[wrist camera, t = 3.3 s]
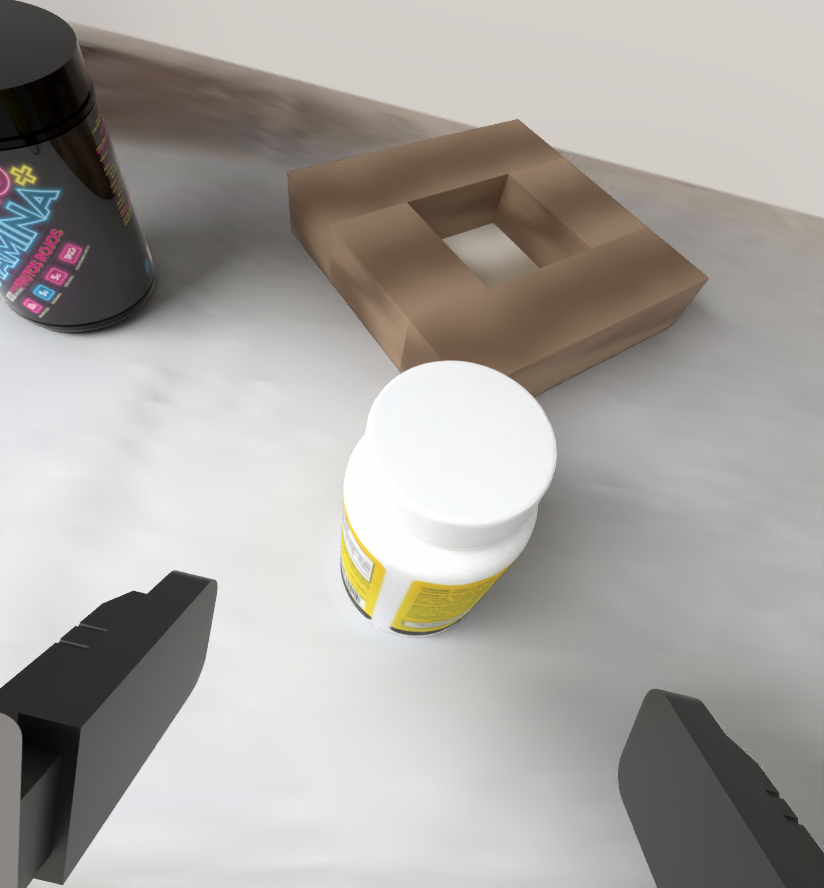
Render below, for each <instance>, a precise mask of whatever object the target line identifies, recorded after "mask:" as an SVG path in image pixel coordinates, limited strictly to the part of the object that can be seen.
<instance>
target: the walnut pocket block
mask: <svg viewBox="0 0 824 888" xmlns="http://www.w3.org/2000/svg"><path fill="white" fill-rule="evenodd" d="M287 176H288V191H289V206H290V220H291V231H292V232H293V234H294V235H295V236H296V237H297V239H298V240H299V241H300V243H301V244H302V245H303V247H304V248H305V249H306V250H307V252H308V253H309V254H310V256H311V257H312V258H313V259H314V261H315V262H316V263H317V265H318V266H319V267H320V268H321V270H322V271H323V272H324V274H325V275H326V276H327V278H328V279H329V280H330V281H331V283H332V284H333V285H334V287H335V288H336V289H337V290H338V292H339V293H340V294H341V296H342V297H343V298H344V300H345V301H346V302H347V303H348V305H349V306H350V307H351V309H352V310H353V311H354V312H355V314H356V315H357V316H358V318H359V319H360V320H361V321H362V323H363V324H364V325H365V327H366V328H367V329H368V331H369V332H370V333H371V334H372V336H373V337H374V338H375V340H376V341H377V342H378V343H379V345H380V346H381V347H382V349H383V350H384V351H385V352H386V354H387V355H388V356H389V358H390V359H391V360H392V362H393V363H394V364H395V365H396V367H397V368H398V369H399V371H400V372H401V373H403V372H405V371H407V370H409V369H411V368H413V367H415V366H419V365H422V364H425V363H431V362H437V361H465V362H471V363H475V364H479V365H483V366H486V367H489V368H491V369H494V370H496V371H498V372H500V373H502V374H504V375H506V376H508V377H509V378H511V379H513V380H514V381H516V382H517V383H518V384H520V385H521V386H522V387H523V388H525V389H526V390H527V391H528V392H529V393H530V394H531V395H532V396H533V397H534V396H536V395H538V394H540V393H542V392H544V391H546V390H548V389H550V388H552V387H554V386H556V385H557V384H559V383H561V382H563V381H565V380H567V379H569V378H571V377H573V376H575V375H577V374H579V373H581V372H583V371H585V370H587V369H589V368H590V367H592V366H594V365H596V364H598V363H600V362H602V361H604V360H606V359H608V358H610V357H612V356H614V355H616V354H618V353H620V352H621V351H623V350H625V349H627V348H629V347H631V346H633V345H635V344H637V343H639V342H641V341H643V340H645V339H647V338H649V337H651V336H652V335H654V334H656V333H658V332H660V331H662V330H664V329H666V328H668V327H670V326H672V324H673V323H674V322H675V321H676V319H677V318H678V317H679V316H680V314H681V313H682V312H683V311H684V309H685V308H686V307H687V305H688V304H689V303H690V302H691V300H692V299H693V298H694V297H695V295H696V294H697V293H698V292H699V290H700V289H701V288H702V287H703V285H704V284H705V283H706V281H707V280H708V279H709V278H708V277H707V276H706V275H705V274H703V273H702V272H701V271H700V270H699V269H697V268H696V267H695V266H694V265H693V264H691V263H690V262H689V261H688V260H687V259H685V258H684V257H683V256H682V255H681V254H679V253H678V252H677V251H676V250H675V249H673V248H672V247H671V246H670V245H669V244H667V243H666V242H665V241H664V240H663V239H661V238H660V237H659V236H658V235H657V234H655V233H654V232H653V231H652V230H651V229H649V228H648V227H647V226H646V225H645V224H643V223H642V222H641V221H640V220H639V219H637V218H636V217H635V216H634V215H633V214H631V213H630V212H629V211H628V210H627V209H625V208H624V207H623V206H622V205H621V204H619V203H618V202H617V201H616V200H615V199H613V198H612V197H611V196H610V195H609V194H607V193H606V192H605V191H604V190H603V189H601V188H600V187H599V186H598V185H597V184H595V183H594V182H593V181H592V180H591V179H589V178H588V177H587V176H586V175H585V174H583V173H582V172H581V171H580V170H579V169H577V168H576V167H575V166H574V165H572V164H571V163H570V162H569V161H568V160H566V159H565V158H564V157H563V156H562V155H560V154H559V153H558V152H557V151H556V150H554V149H553V148H552V147H551V146H550V145H548V144H547V143H546V142H545V141H544V140H542V139H541V138H540V137H539V136H538V135H536V134H535V133H534V132H533V131H532V130H530V129H529V128H528V127H527V126H526V125H524V124H523V123H522V122H521V121H520V120H518V119H516V120H512V121H507V122H504V123H499V124H495V125H490V126H486V127H481V128H477V129H473V130H468V131H464V132H460V133H455V134H451V135H447V136H442V137H438V138H434V139H429V140H425V141H421V142H416V143H412V144H408V145H403V146H399V147H394V148H390V149H386V150H381V151H377V152H373V153H368V154H364V155H360V156H355V157H351V158H347V159H342V160H338V161H334V162H329V163H325V164H321V165H316V166H312V167H308V168H303V169H299V170H295V171H290V172H287Z"/></svg>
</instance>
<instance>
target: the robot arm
mask: <svg viewBox="0 0 824 888" xmlns="http://www.w3.org/2000/svg"><path fill="white" fill-rule="evenodd" d="M216 596H217V582H216V580H213V579H209V578H205V577H201V576H197V575H192V574H188V573H184V572H180V571H176V570H175V571H172V572H171V573H169V574H168V575H167V576H166V577H165V578H164V579H163V580H162V581H161V582H159V583H158V584H157V585H156V586H155V587H154V588H153V589H152V590H151V591H150V592H149V593H148V594H145V593H140V592H136V591H132V592H129V593H127V594H124V595H122V596H120V597H117V598H115V599H112V600H110V601H108V602H105V603H103V604H102V605H100V606H99V607H98V608H97V609H96V610H94V611H93V612H92V613H91V614H90V615H88V616H87V617H86V618H85V619H84V620H82V621H81V622H80V624H79V626H78V627H77V626H75V627H74V628H73V629H71V630H70V631H69V632H68V633H67V634H65V635H64V636H63V637H62V638H61V639H60V642H59V643H55V644H53V645H52V646H51V647H50V648H49V649H47V650H46V651H45V652H44V653H42V654H41V655H40V656H39V657H38V658H36V659H35V660H34V661H33V662H32V663H30V664H29V665H28V666H27V667H26V668H24V669H23V670H22V671H21V672H20V673H18V674H17V675H16V676H15V677H14V678H12V679H11V680H10V681H9V682H8V683H6V684H5V685H4V686H3V687H1V688H0V888H27V886H28V885H29V883H30V882H31V881H32V879H33V878H35V879H39V880H43V881H48V882H52V883H56V884H60V885H63V884H64V882H65V881H66V879H67V878H68V877H69V875H70V874H71V872H72V871H73V869H74V868H75V866H76V865H77V863H78V862H79V860H80V859H81V857H82V856H83V854H84V853H85V851H86V850H87V848H88V847H89V845H90V844H91V842H92V841H93V839H94V838H95V836H96V835H97V833H98V832H99V830H100V829H101V827H102V826H103V824H104V823H105V821H106V820H107V818H108V817H109V815H110V814H111V812H112V811H113V809H114V808H115V806H116V805H117V803H118V802H119V800H120V799H121V797H122V796H123V794H124V793H125V791H126V790H127V788H128V787H129V785H130V784H131V782H132V781H133V779H134V778H135V776H136V775H137V773H138V772H139V770H140V769H141V767H142V766H143V764H144V763H145V761H146V760H147V758H148V757H149V755H150V754H151V752H152V751H153V749H154V748H155V746H156V745H157V743H158V742H159V740H160V739H161V737H162V736H163V734H164V733H165V731H166V730H167V728H168V727H169V725H170V724H171V722H172V721H173V719H174V718H175V716H176V715H177V713H178V712H179V710H180V709H181V707H182V706H183V704H184V703H185V701H186V700H187V698H188V697H189V695H190V694H191V692H192V691H193V689H194V687H195V685H196V683H197V681H198V678H199V676H200V673H201V671H202V668H203V665H204V661H205V658H206V653H207V647H208V642H209V636H210V630H211V624H212V619H213V613H214V607H215V601H216ZM618 781H619V790H620V794H621V797H622V800H623V803H624V805H625V808H626V810H627V813H628V815H629V818H630V820H631V823H632V825H633V828H634V830H635V833H636V836H637V838H638V841H639V843H640V846H641V848H642V851H643V853H644V856H645V858H646V861H647V863H648V866H649V868H650V871H651V873H652V876H653V878H654V881H655V883H656V886H657V888H824V853H823V852H822V850H821V849H820V848H819V846H818V845H817V843H816V842H815V841H814V839H813V838H812V837H811V835H810V834H809V833H808V831H807V830H806V829H805V827H804V826H803V825H800V824H798V818H797V816H796V815H795V814H794V812H793V811H792V810H791V808H790V807H789V806H788V804H787V803H786V802H785V800H784V799H781V798H779V792H778V791H777V790H776V788H775V787H774V785H773V784H772V783H771V781H770V780H769V779H768V777H767V776H766V775H765V773H764V772H763V771H762V769H761V768H760V767H759V765H758V764H757V763H756V762H755V761H754V760H753V759H752V758H751V757H749V756H748V755H747V754H746V753H745V752H744V751H743V750H742V749H741V748H740V747H739V746H738V745H736V744H735V743H734V742H733V741H732V740H731V739H730V738H729V737H727V736H726V735H725V733H724V732H723V730H722V729H721V728H720V726H719V725H718V723H717V722H716V721H715V719H714V718H713V716H712V715H711V714H710V712H709V711H708V709H707V708H706V707H705V705H704V704H703V703H702V702H701V701H700V700H698V699H696V698H692V697H688V696H684V695H680V694H676V693H672V692H668V691H664V690H659V689H652V690H650V691H649V692H648V693H647V695H646V696H645V698H644V700H643V703H642V705H641V708H640V710H639V713H638V715H637V718H636V720H635V723H634V725H633V728H632V730H631V733H630V735H629V738H628V740H627V743H626V745H625V748H624V750H623V753H622V755H621V758H620V763H619V770H618Z"/></svg>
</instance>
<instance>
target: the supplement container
mask: <svg viewBox="0 0 824 888" xmlns="http://www.w3.org/2000/svg"><path fill="white" fill-rule="evenodd" d="M155 277H156V270H155V265H154V262H153V259H152V256H151V253H150V251H149V248H148V245H147V242H146V239H145V236H144V233H143V230H142V228H141V225H140V222H139V219H138V216H137V213H136V210H135V207H134V205H133V202H132V199H131V196H130V193H129V190H128V187H127V185H126V182H125V179H124V176H123V173H122V170H121V167H120V164H119V162H118V159H117V156H116V153H115V150H114V147H113V144H112V142H111V139H110V136H109V133H108V130H107V127H106V124H105V121H104V119H103V116H102V113H101V110H100V107H99V104H98V101H97V99H96V93H95V88H94V85H93V82H92V79H91V77H90V75H89V73H88V70H87V67H86V64H85V61H84V58H83V56H82V53H81V50H80V47H79V44H78V41H77V38H76V35H75V33H74V31H73V29H72V28H71V27H70V26H69V25H68V24H67V23H66V22H65V21H64V20H63V19H61V18H60V17H58V16H57V15H55V14H53V13H51V12H49V11H47V10H45V9H42V8H39V7H37V6H34V5H31V4H27V3H24V2H20V1H15V0H0V295H1V296H2V298H3V299H4V300H5V302H6V303H7V305H8V306H9V307H10V308H11V310H13V311H14V312H15V313H16V314H17V315H19V316H20V317H22V318H24V319H25V320H27V321H29V322H31V323H33V324H35V325H38V326H40V327H44V328H47V329H51V330H56V331H65V332H85V331H92V330H98V329H102V328H105V327H109V326H111V325H114V324H116V323H119V322H121V321H123V320H125V319H126V318H128V317H129V316H131V315H132V314H134V313H135V312H136V311H137V310H138V309H139V308H140V307H141V306H142V305H143V304H144V303H145V302H146V301H147V299H148V298H149V296H150V294H151V292H152V290H153V287H154V283H155Z"/></svg>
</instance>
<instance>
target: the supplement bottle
mask: <svg viewBox="0 0 824 888" xmlns="http://www.w3.org/2000/svg"><path fill="white" fill-rule="evenodd" d="M556 462H557V446H556V439H555V435H554V432H553V429H552V426H551V423H550V422H549V420H548V417H547V415H546V414H545V412H544V410H543V409H542V407H541V406H540V404H539V403H538V402H537V401H536V399H535V398H534V397H533V396H532V395H531V394H530V393H529V392H528V391H527V390H526V389H525V388H523V387H522V386H521V385H520V384H518V383H517V382H516V381H514V380H513V379H511V378H509V377H508V376H506V375H504V374H502V373H500V372H498V371H496V370H494V369H491V368H489V367H486V366H483V365H479V364H475V363H471V362H465V361H437V362H431V363H425V364H422V365H419V366H415V367H413V368H411V369H409V370H407V371H405V372H403V373H401V374H400V375H398V376H397V377H395V378H394V379H393V380H392V381H390V382H389V383H388V384H387V385H386V386H385V387H384V388H383V390H382V391H381V392H380V393H379V395H378V396H377V398H376V400H375V401H374V403H373V405H372V408H371V410H370V413H369V416H368V420H367V426H366V431H365V434H364V436H363V437H362V438H361V439H360V441H359V442H358V444H357V445H356V447H355V449H354V451H353V453H352V455H351V457H350V460H349V463H348V466H347V469H346V473H345V479H344V488H343V513H342V538H341V575H342V581H343V585H344V588H345V591H346V593H347V595H348V597H349V599H350V601H351V603H352V604H353V606H354V607H355V608H356V610H357V611H358V612H359V613H360V614H361V615H362V616H363V617H364V618H365V619H366V620H367V621H368V622H370V623H371V624H373V625H374V626H376V627H377V628H379V629H381V630H383V631H386V632H388V633H391V634H395V635H398V636H403V637H413V638H418V637H427V636H432V635H435V634H438V633H441V632H443V631H445V630H447V629H449V628H451V627H452V626H454V625H455V624H456V623H458V622H459V621H460V620H461V619H462V618H463V617H464V616H465V615H466V614H467V613H468V612H469V611H470V610H471V609H472V608H473V607H474V605H475V604H476V603H477V602H478V601H479V600H480V599H481V598H482V596H483V595H484V594H485V593H486V592H487V591H488V590H489V589H490V588H491V586H492V585H493V584H494V583H495V582H496V581H497V580H498V579H499V578H500V576H501V575H502V574H503V573H504V572H505V571H506V570H507V569H508V567H509V566H510V565H511V564H512V563H513V562H514V561H515V560H516V558H517V557H518V556H519V555H520V553H521V552H522V551H523V550H524V548H525V546H526V545H527V543H528V541H529V539H530V537H531V534H532V532H533V529H534V527H535V523H536V519H537V514H538V503H539V501H540V500H541V499H542V497H543V496H544V494H545V493H546V491H547V490H548V488H549V486H550V484H551V481H552V479H553V476H554V473H555V469H556Z"/></svg>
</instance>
